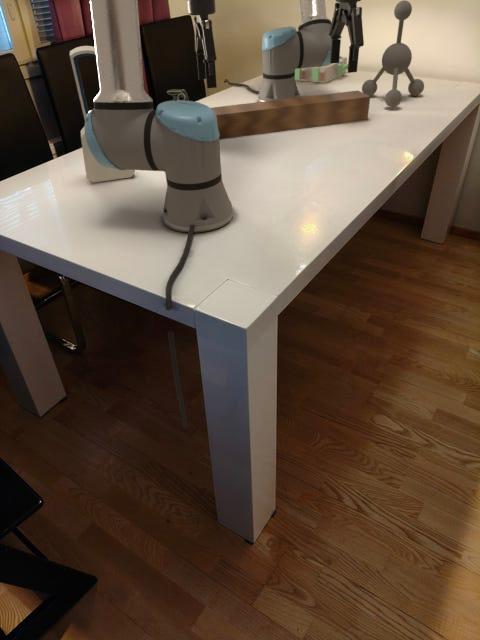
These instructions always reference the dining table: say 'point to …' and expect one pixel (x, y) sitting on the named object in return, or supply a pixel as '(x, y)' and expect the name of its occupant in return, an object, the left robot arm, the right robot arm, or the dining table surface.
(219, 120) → the wide beam
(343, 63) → the decorative block
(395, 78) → the molecular model
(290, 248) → the dining table surface
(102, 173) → the electronic device
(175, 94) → the grenade
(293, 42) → the right robot arm
